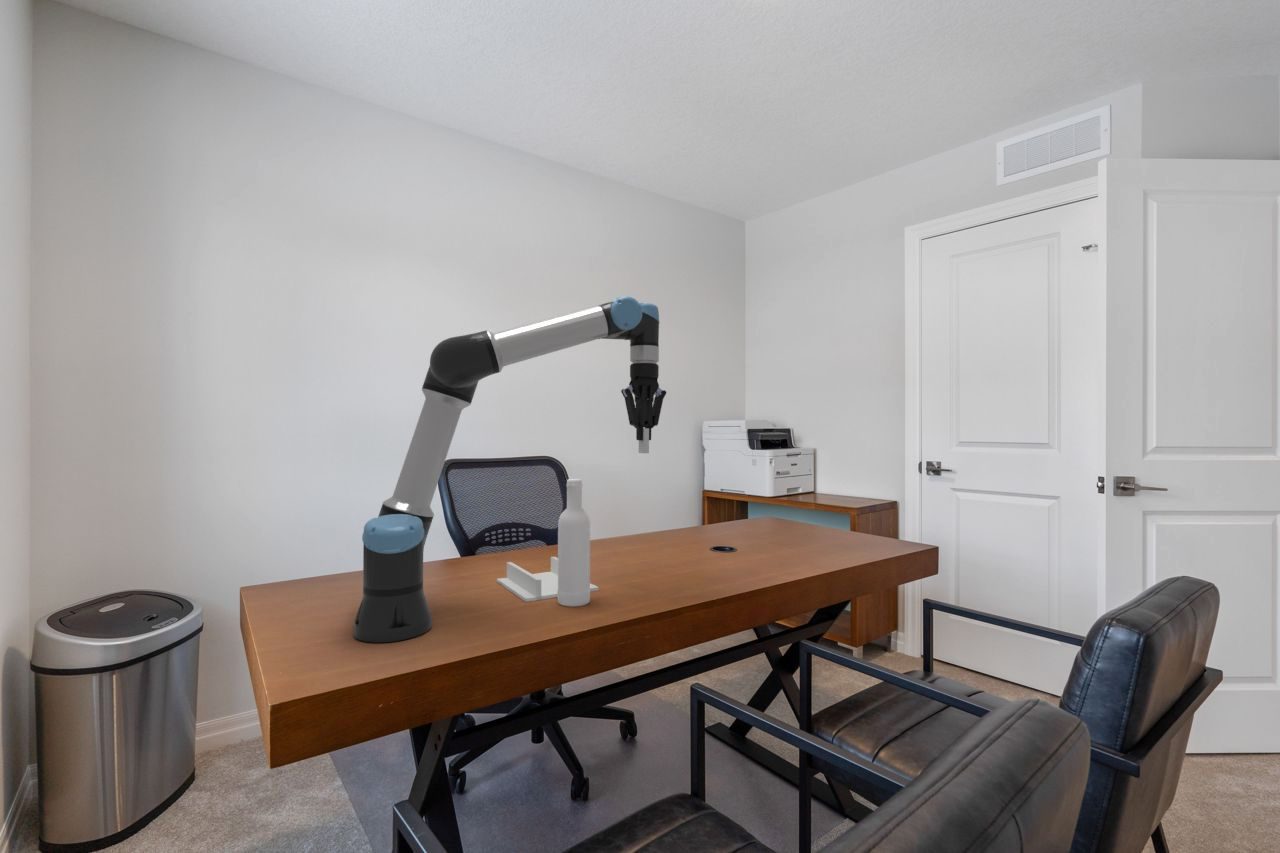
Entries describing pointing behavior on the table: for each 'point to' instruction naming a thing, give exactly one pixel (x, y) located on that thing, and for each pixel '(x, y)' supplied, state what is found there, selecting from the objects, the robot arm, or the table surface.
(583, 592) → the bottle
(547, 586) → the u rest
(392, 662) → the table surface
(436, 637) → the table surface
